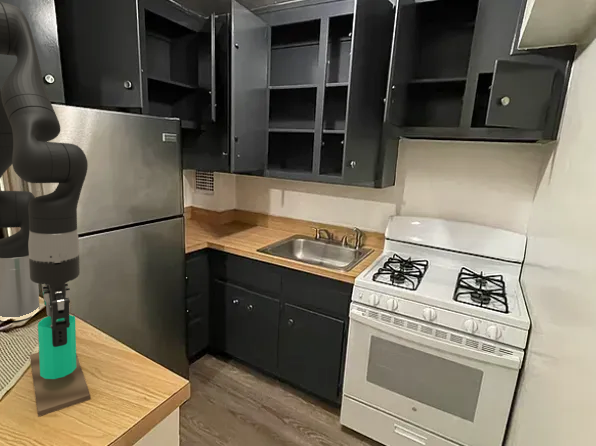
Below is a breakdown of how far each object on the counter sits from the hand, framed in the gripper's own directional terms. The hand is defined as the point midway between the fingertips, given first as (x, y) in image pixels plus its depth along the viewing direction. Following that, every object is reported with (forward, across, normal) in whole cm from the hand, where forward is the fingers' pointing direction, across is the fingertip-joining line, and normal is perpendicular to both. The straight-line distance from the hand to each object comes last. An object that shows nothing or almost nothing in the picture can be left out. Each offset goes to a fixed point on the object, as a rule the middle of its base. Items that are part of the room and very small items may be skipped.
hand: (57, 336), depth 66 cm
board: (+11, -3, 0) cm, 11 cm away
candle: (+7, 0, 0) cm, 7 cm away
